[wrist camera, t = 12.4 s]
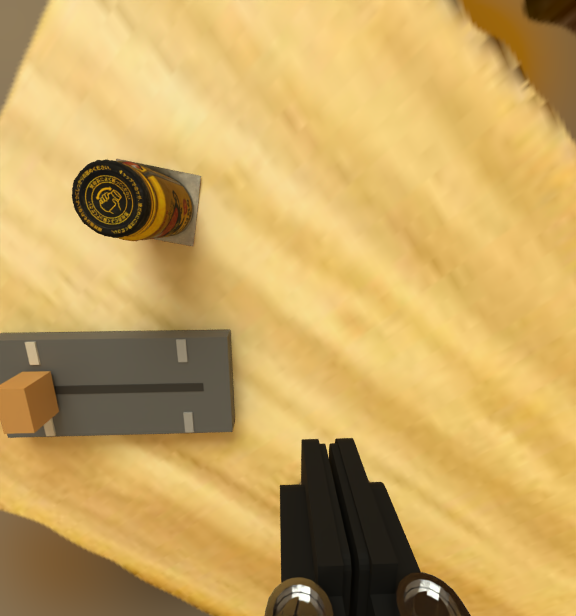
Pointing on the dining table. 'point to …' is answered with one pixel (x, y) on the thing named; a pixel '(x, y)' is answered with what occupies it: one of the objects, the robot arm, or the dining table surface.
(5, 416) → the fader tab
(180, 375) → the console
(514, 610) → the dining table surface
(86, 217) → the condiment
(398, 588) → the robot arm
